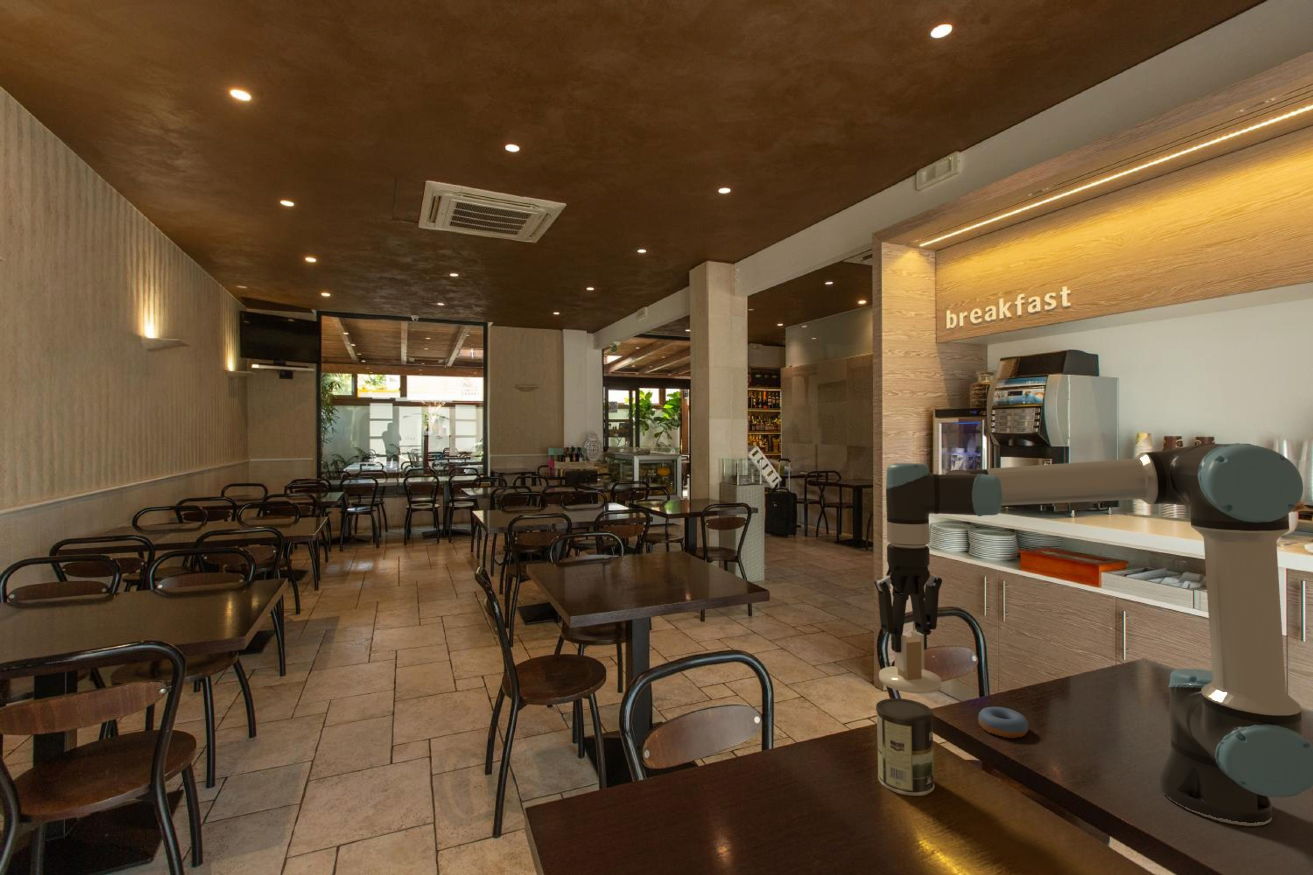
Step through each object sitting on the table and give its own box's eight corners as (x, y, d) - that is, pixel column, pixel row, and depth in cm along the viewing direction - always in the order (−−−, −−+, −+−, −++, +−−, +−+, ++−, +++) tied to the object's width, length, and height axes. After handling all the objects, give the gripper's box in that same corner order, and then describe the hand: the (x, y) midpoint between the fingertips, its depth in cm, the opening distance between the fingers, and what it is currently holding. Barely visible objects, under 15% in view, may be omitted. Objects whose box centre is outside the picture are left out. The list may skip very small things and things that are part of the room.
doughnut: (1040, 735, 137) (1037, 714, 138) (1003, 744, 135) (1000, 722, 135) (1004, 720, 147) (1002, 701, 147) (969, 729, 144) (967, 708, 145)
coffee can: (927, 769, 124) (926, 699, 124) (940, 799, 114) (939, 722, 114) (873, 765, 126) (872, 695, 126) (881, 793, 116) (880, 718, 116)
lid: (916, 668, 125) (916, 628, 125) (954, 689, 114) (954, 646, 114) (867, 674, 122) (867, 633, 122) (902, 696, 112) (901, 651, 112)
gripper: (931, 539, 124) (933, 657, 124) (859, 543, 120) (860, 664, 120) (958, 545, 117) (959, 670, 116) (881, 549, 113) (883, 679, 113)
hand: (909, 667), depth 118 cm, fingers closed on lid, 3 cm apart
